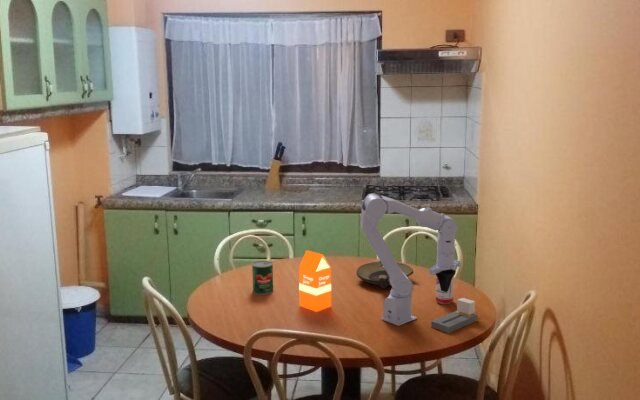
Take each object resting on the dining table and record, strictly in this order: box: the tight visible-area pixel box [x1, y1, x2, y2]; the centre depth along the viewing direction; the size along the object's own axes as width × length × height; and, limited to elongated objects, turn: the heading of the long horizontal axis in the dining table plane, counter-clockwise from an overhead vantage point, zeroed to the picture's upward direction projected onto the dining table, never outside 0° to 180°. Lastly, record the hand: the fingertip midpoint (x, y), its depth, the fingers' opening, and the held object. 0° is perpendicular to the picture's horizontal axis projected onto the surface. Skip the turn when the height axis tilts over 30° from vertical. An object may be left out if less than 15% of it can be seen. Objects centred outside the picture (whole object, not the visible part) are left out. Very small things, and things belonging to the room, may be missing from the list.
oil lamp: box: [356, 260, 414, 289], centre depth 249 cm, size 22×30×8 cm
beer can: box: [435, 269, 455, 305], centre depth 226 cm, size 6×6×16 cm
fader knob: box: [456, 297, 476, 315], centre depth 211 cm, size 3×5×4 cm, turn 42°
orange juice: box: [298, 250, 332, 313], centre depth 223 cm, size 8×9×20 cm
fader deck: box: [430, 310, 479, 334], centre depth 208 cm, size 16×7×2 cm, turn 132°
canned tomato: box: [251, 260, 274, 296], centre depth 241 cm, size 8×8×11 cm
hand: (444, 290), depth 212 cm, fingers closed
